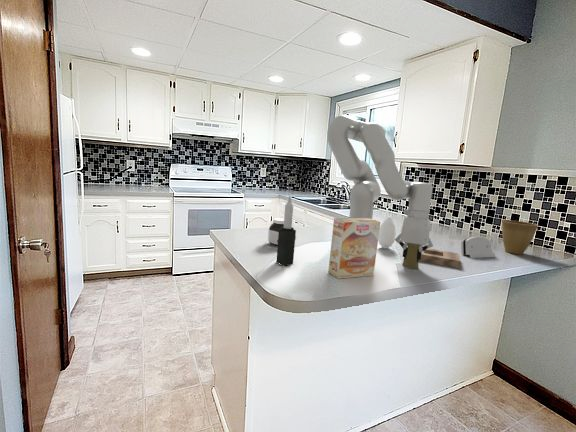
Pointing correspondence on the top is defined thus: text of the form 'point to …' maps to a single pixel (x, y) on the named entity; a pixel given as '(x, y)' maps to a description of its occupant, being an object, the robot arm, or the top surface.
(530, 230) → the plant pot
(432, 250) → the tan flat frame
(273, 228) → the spread jar
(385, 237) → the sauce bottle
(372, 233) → the coffeecake box
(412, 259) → the cork
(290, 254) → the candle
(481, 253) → the grey piece
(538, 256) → the top surface
